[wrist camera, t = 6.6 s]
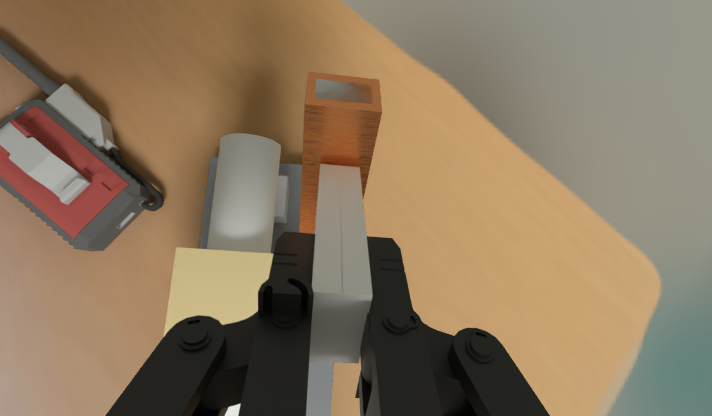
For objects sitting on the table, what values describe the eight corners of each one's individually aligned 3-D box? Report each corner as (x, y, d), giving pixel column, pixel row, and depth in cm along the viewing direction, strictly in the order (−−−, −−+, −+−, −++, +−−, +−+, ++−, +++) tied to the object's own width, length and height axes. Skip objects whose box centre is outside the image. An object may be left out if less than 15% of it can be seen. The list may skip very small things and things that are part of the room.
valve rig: (326, 449, 31) (335, 525, 21) (178, 446, 30) (115, 526, 20) (344, 173, 35) (359, 131, 25) (214, 162, 34) (177, 113, 24)
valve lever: (334, 336, 26) (382, 119, 13) (294, 334, 26) (303, 111, 13) (335, 297, 28) (378, 74, 15) (298, 295, 28) (309, 66, 15)
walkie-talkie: (188, 186, 34) (11, 36, 34) (171, 172, 30) (-32, 0, 30) (109, 268, 32) (-78, 107, 32) (78, 266, 28) (-137, 80, 28)
